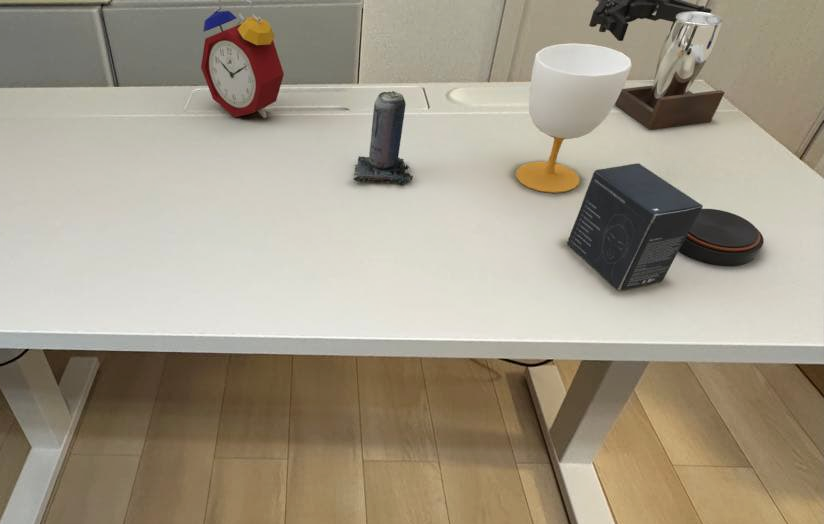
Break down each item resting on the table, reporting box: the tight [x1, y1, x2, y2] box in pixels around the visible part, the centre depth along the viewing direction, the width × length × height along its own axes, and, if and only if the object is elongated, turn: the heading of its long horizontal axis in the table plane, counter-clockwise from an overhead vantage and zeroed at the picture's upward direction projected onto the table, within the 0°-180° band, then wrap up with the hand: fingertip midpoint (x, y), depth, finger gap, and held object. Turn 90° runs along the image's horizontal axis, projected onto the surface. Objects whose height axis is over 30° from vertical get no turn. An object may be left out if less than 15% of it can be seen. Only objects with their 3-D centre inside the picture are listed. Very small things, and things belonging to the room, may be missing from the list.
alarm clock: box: [200, 0, 285, 119], centre depth 103 cm, size 15×9×20 cm, turn 50°
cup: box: [515, 42, 633, 194], centre depth 82 cm, size 12×12×17 cm
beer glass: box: [644, 11, 724, 109], centre depth 97 cm, size 7×7×15 cm
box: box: [566, 162, 704, 291], centre depth 70 cm, size 11×7×10 cm, turn 15°
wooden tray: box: [614, 84, 725, 130], centre depth 100 cm, size 11×11×5 cm
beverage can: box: [352, 90, 414, 185], centre depth 87 cm, size 9×8×12 cm
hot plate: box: [678, 208, 765, 267], centre depth 74 cm, size 10×10×2 cm
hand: (664, 32), depth 101 cm, fingers open, 13 cm apart
